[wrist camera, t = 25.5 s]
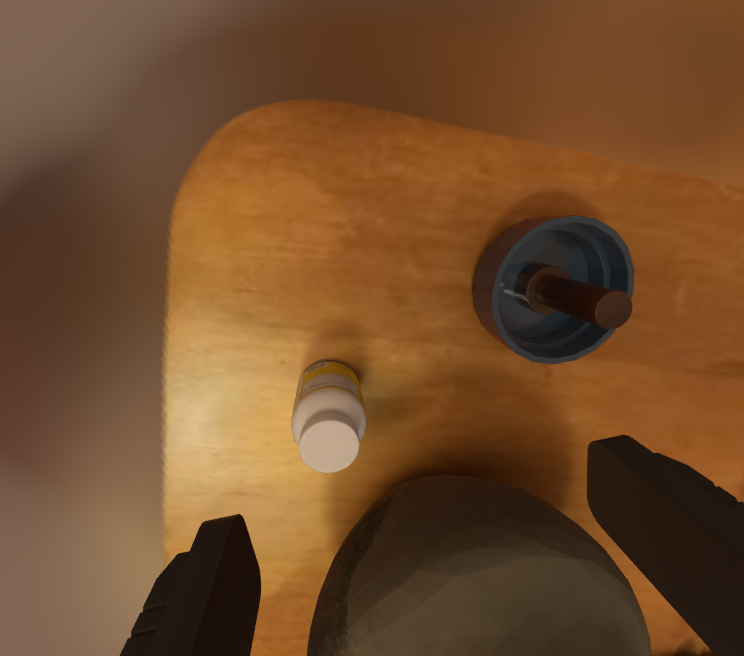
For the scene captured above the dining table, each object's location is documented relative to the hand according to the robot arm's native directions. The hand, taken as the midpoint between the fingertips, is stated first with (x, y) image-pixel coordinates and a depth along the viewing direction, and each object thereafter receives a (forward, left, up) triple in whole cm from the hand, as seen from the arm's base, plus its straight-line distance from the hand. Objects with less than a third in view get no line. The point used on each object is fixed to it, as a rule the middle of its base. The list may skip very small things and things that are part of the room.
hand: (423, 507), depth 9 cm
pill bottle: (+10, -4, -30) cm, 32 cm away
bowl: (+3, +19, -30) cm, 36 cm away
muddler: (+3, +19, -29) cm, 35 cm away
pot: (+32, +4, -30) cm, 44 cm away
